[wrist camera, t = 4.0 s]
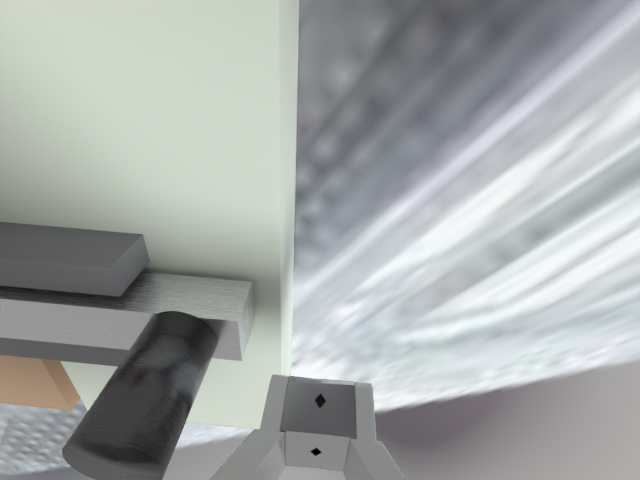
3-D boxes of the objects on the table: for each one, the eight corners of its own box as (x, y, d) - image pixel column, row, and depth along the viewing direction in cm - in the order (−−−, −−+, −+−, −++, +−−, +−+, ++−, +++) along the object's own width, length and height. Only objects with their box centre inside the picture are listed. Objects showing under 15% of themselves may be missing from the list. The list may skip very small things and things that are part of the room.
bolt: (252, 277, 12) (187, 448, 7) (255, 323, 14) (201, 495, 9) (-9, 253, 13) (-243, 403, 8) (18, 300, 14) (-167, 454, 9)
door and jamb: (299, -4, 11) (260, -28, 6) (291, 370, 22) (274, 472, 17) (-319, -47, 12) (-810, -100, 7) (-33, 338, 23) (-141, 428, 18)
